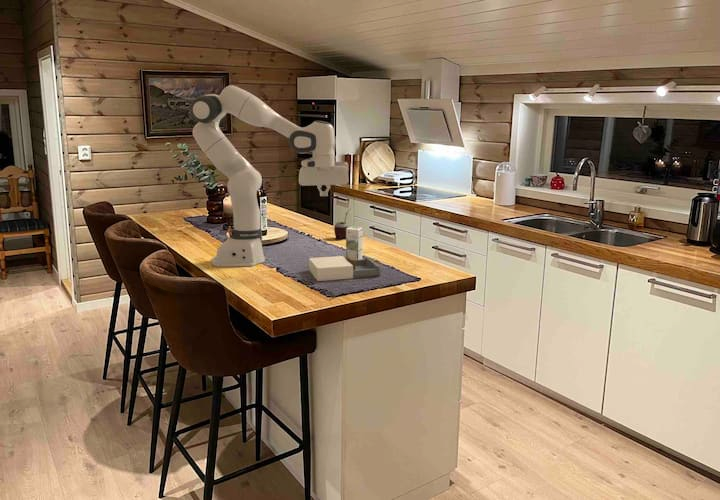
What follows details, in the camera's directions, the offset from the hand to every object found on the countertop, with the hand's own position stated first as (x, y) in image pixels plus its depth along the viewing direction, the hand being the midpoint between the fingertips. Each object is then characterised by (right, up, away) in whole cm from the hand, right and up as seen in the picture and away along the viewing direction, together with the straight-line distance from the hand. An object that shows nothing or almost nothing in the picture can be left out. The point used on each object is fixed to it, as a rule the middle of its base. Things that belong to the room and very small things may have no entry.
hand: (323, 195), depth 246 cm
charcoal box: (+15, -31, -4) cm, 35 cm away
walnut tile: (+10, -28, -6) cm, 30 cm away
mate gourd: (+6, -17, +55) cm, 58 cm away
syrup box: (+12, -27, +14) cm, 33 cm away
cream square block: (+3, -32, -7) cm, 33 cm away
